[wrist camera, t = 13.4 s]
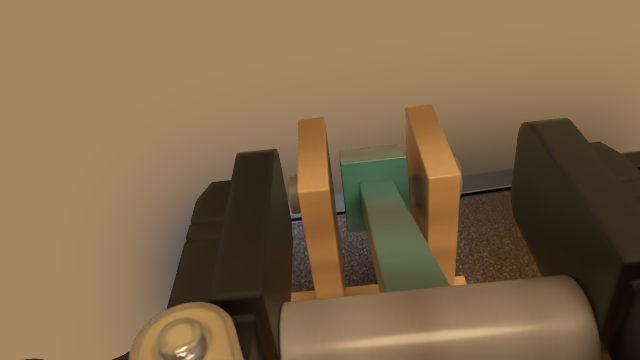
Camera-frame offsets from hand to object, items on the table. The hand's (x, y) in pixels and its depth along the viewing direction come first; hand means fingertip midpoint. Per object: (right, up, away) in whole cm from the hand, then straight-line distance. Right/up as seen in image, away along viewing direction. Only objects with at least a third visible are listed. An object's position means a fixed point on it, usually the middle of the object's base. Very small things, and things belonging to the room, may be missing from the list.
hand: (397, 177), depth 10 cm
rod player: (+1, -2, +4) cm, 5 cm away
